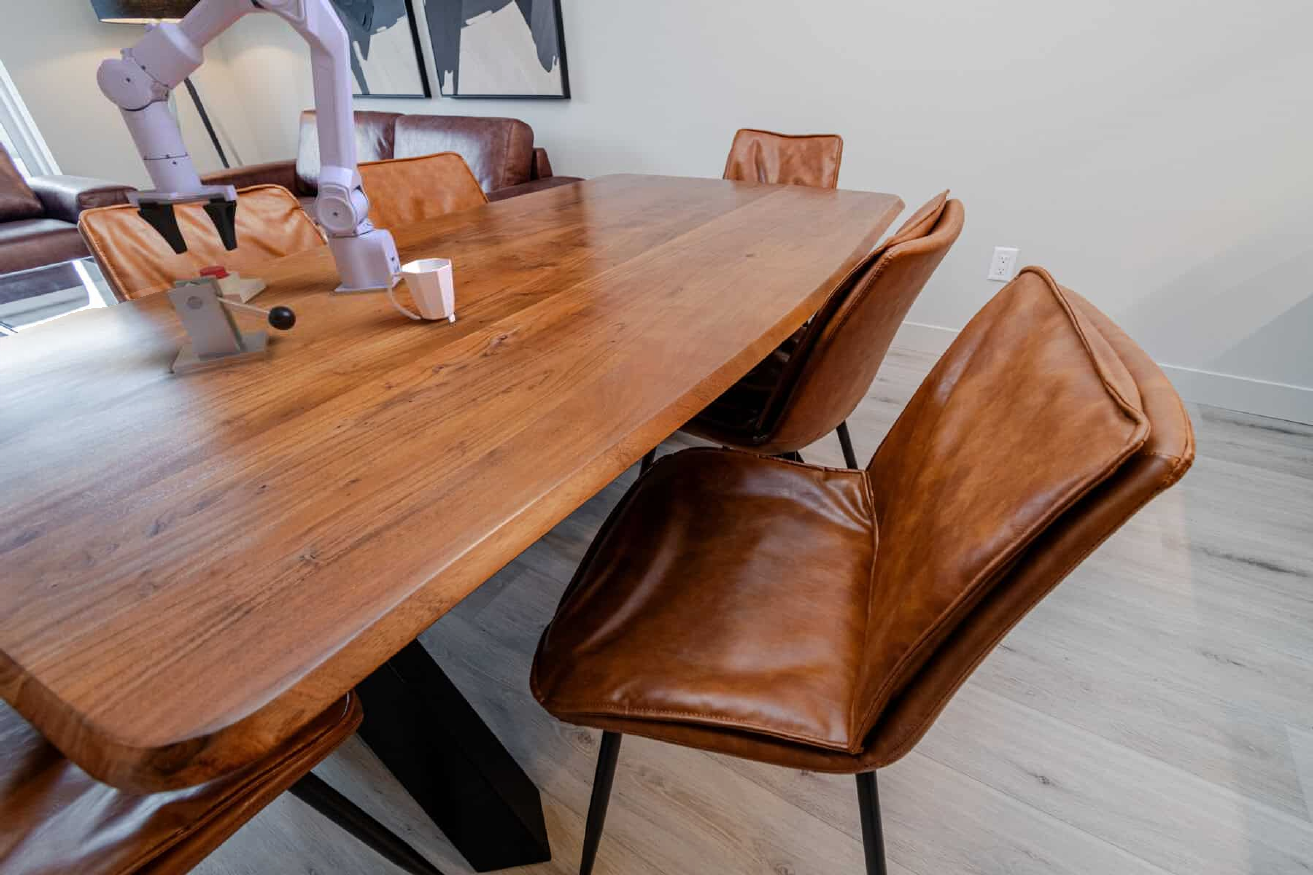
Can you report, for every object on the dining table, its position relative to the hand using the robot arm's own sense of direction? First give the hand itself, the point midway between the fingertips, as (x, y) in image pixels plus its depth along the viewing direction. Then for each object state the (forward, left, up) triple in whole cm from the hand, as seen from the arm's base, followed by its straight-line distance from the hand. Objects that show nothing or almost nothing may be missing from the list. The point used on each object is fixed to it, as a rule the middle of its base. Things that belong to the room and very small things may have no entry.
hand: (207, 251), depth 95 cm
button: (+1, -1, -5) cm, 5 cm away
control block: (+1, -1, -8) cm, 8 cm away
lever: (-15, +24, -4) cm, 28 cm away
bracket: (-12, +25, -8) cm, 29 cm away
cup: (-37, +18, -8) cm, 42 cm away
